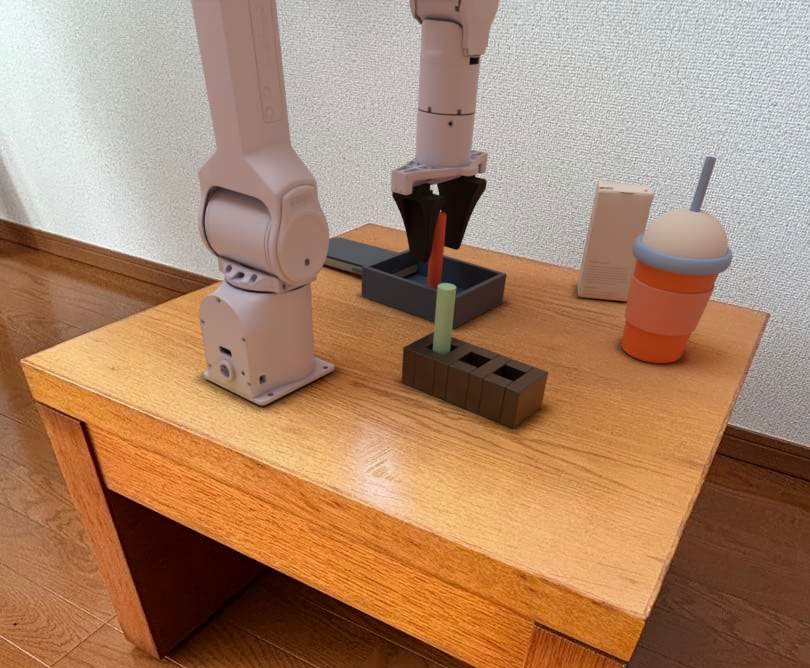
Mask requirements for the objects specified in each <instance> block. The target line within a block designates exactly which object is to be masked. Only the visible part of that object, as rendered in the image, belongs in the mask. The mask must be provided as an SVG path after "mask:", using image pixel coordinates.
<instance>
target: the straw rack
mask: <svg viewBox="0 0 810 668" xmlns="http://www.w3.org/2000/svg"><path fill="white" fill-rule="evenodd" d="M433 338H434V331H432V332H431V333H429V334H426V335H425V336H423V337H421V338H419V339H417V340H415V341H413V342H411V343H409V344H406V345H405V346H404V347H403V348H402V364H401V365H402V366H401V367H402V368H401V369H402V370H401V383H403V384H405V385H407V386H409V387H412V388H414V389H416V390H419V391H422V392H424V393H425V394H429V395H430V396H431V395H432V396H434V397H436V398H438V399H441V400H443V401H446V402H448V403H450V404H453V405H455V406H458V407H459V408H463V409H465V410H466V411H469V412H472V413H475V414H476V415H479V416H482V417H484V418H487V419H489V420H491V421H493V422H495V423H498V424H499V423H500V424H501V425H502V426H503V425H504V426H506V427H508V428H510V429H515V428H517V426H519V425H520V424H521V423H522V422H524V421H525V420H526V419H528V418H529V417H531V416H532V415H533V414H535V413H536V412H537V411H539V410H540V409H541V408H542V406H543V405H542V404H543V401H544V396H545V391H546V387H547V381H548V376H549V371H547V370H544V369H541V368H539V367H536V366H533V365H531V364H528V363H525V362H522V361H519V360H517V359H513V358H511V357H508V356H505V355H502V354H500V353H498V352H495V351H493V350H489V349H487V348H484V347H482V346H478V345H475V344H472V343H469V342H467V341H464V340H461V339H458V338H456V337H453V336H451V346H450V352H449V353H447V354H446V355H443V354H441V353H438V352H435V351H433Z"/></svg>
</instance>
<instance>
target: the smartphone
mask: <svg viewBox="0 0 810 668" xmlns="http://www.w3.org/2000/svg"><path fill="white" fill-rule="evenodd" d="M397 253H400V252H398V251H395V250H390V249H387V248H383V247H379V246H375V245H372V244H368V243H364V242H359V241H356V240H353V239H348V238H344V237H340V236H339V237H330V238H329V249H328V253H327V257H326V260H325V263H324V265H325V266H328V267H332V268H336V269H338V270H343V271H346V272H348V273H353V274H356V275H360V276H362V266H365V265H368V264H370V263H373V262H376V261H378V260H381V259H384V258H386V257H389V256H392V255H394V254H397ZM416 271H417V263H416V262H413V263H411V264H408V265H406V266H403V267H401V268H398V269H396V270H394V271H391V272H390V273H389V274H392V275H395V276H399V277H402V278H403V277H405V276H408V275H410V274H412V273H415V272H416Z"/></svg>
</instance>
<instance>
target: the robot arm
mask: <svg viewBox="0 0 810 668" xmlns="http://www.w3.org/2000/svg"><path fill="white" fill-rule="evenodd" d="M190 2H191V9H192V14H193V20H194V26H195V31H196V37H197V42H198V49H199V54H200V60H201V66H202V72H203V77H204V83H205V88H206V89H205V90H206V95H207V98H208V99H207V100H208V105H209V106H208V107H209V113H210V118H211V123H212V128H213V135H214V139H215V146H216V149H215V151H213V153H212V154H211V155H210V156H209V157H208V158H207V159H206V160H205V162H204V163H202V164H201V166H200V167H199V169H198V170H197V176H198V181H199V188H200V201H199V207H198V213H197V224H198V225H197V226H198V231H199V235H200V238H201V241H202V243H203V245H204V246H205V248H206V249H207V250H208V252H210V254H212V255H213V256H214V257H216V258H217V264H218V271H219V272H220V273H223V275H224V278H223V280H222V282H221V284H220V285H219V286H218V287H217V288H216V289H215V290H214V291H212V292H211V293H209V294H207V295H206V296H204V298H203V299H202V300H201V302H200V305H199V309H198V311H199V314H198V316H199V324H200V329H201V335H202V343H203V348H204V354H205V360H206V366H207V370H206V371H204V372H203V378H204V379H206V380H208V381H210V382H212V383H214V384H216V385H218V386H220V387H222V388H224V389H226V390H228V391H230V392H232V393H234V394H236V395H238V396H240V397H242V398H244V399H246V400H248V401H250V402H252V403H254V404H256V405H258V406H266V405H269V404H270V403H272V402H274V401H276V400H278V399H280V398H282V397H285V396H286V395H288V394H290V393H293V392H294V391H296V390H298V389H300V388H302V387H304V386H306V385H308V384H310V383H312V382H315V381H316V380H318V379H320V378H322V377H324V376H326V375H328V374H330V373H333V372H334V371H335V365H334V364H333V363H331V362H329V361H326V360H324V359H321V358H319V357H316V356H315V344H314V341H315V340H314V322H313V321H314V319H313V302H312V301H313V300H312V283H313V282H315V281H317V280H318V279H317V276H318V274H319V273H320V272H321V270H322V268H323V267H324V265H325V264H324V263H325V260H326V257H327V253H328V249H329V239H330V227H329V224H328V220H327V218H326V215H325V214H324V211H323V209H322V207H321V204H320V201H319V200H320V199H319V194H318V184H317V183H318V182H317V179H316V177H315V176H314V174H313V173H312V172H311V170H310V169H309V167H308V166H307V165H306V164H305V162H304V161H303V160H302V158H301V157H300V156H299V154H298V153H297V152H296V150H295V149H294V148H293V147H294V146H293V145H292V142H291V133H290V124H289V123H290V122H289V114H288V103H287V94H286V93H287V92H286V84H285V74H284V65H283V56H282V55H283V54H282V46H281V45H282V44H281V37H280V27H279V17H278V8H277V0H190ZM500 2H501V1H500V0H408V4H409V8H410V12H411V15H412V18H413V19H414V20H416V21H417V23H418V24H419V25H420V26H421V33H420V51H419V52H420V53H419V73H418V95H417V112H416V113H417V114H416V115H417V116H416V131H415V133H416V134H415V135H416V136H415V154H414V157H413V158H412V159H410V160H409V161H406V162H405V163H404V164H403V165H400V166H399V167H396V168H394V169H393V168H392V169H391V170H390V171H391V174H390V176H391V177H390V192H391V197H392V199H393V200H394V202H395V204H396V206H397V209H398V211H399V213H400V216H401V219H402V222H403V225H404V229H405V234H406V239H407V244H408V249H409V250H410V256H411V259H415V260H418V261H421V262H428V261H429V259H430V256H431V252H432V246H433V238H434V232H435V227H436V223H437V219H438V216H439V213H440V212H444V213H446V215H447V216H446V228H445V240H444V248H449V249H452V250H456V251H458V250H459V249H461V246H462V243H463V240H464V237H465V234H466V231H467V228H468V225H469V222H470V219H471V217H472V214H473V212H474V210H475V208H476V206H477V204H478V202H479V200H480V199H481V197H482V196H483V194H484V193H485V191H486V189H487V182H488V180H487V179H485V178H483V177H478V176H476V175H478V174H485V173H487V165H488V158H489V157H488V156H489V153H488V152H486V151H480V150H476V149H472V148H473V147H472V146H473V138H474V127H475V117H476V109H477V97H478V88H479V78H480V77H479V76H480V67H481V58H482V56H483V55H485V54H486V50H487V48H488V47H489V37H490V31H491V28H492V25H493V22H494V20H495V18H496V15H497V12H498V10H499V5H500ZM433 185H434V186H435V185H436V186H437V191H438V194H437V193H434V190H433V189H431V186H433Z"/></svg>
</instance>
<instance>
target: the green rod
mask: <svg viewBox="0 0 810 668" xmlns="http://www.w3.org/2000/svg"><path fill="white" fill-rule="evenodd" d="M455 295H456V286H455V285H453V284H450V283H442V284H439V285H438V287H437V300H436V313H435V322H434V327H433V332H434V338H433V351H435V352H438V353H441V354H443V355H446V354H447V353H449V352H450V346H451V337H453V336H452V334H453V328H452V326H453V316H454V305H455Z"/></svg>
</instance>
